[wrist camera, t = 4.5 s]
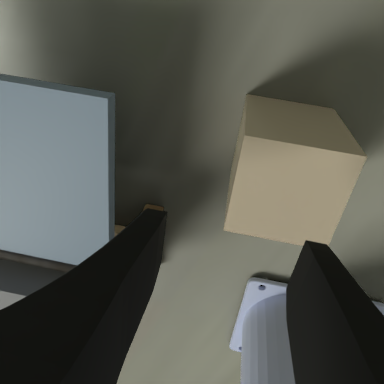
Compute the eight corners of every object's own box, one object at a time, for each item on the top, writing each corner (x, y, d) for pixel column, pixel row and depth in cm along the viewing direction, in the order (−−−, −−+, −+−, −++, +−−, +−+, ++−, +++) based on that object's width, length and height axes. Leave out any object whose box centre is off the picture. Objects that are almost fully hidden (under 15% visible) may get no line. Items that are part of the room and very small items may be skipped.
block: (333, 108, 17) (367, 156, 12) (307, 183, 20) (326, 250, 15) (246, 93, 18) (244, 135, 13) (230, 169, 20) (223, 230, 15)
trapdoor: (126, 84, 15) (93, 109, 12) (121, 308, 22) (100, 358, 19) (-89, 48, 15) (-175, 63, 12) (-23, 277, 23) (-66, 321, 20)
